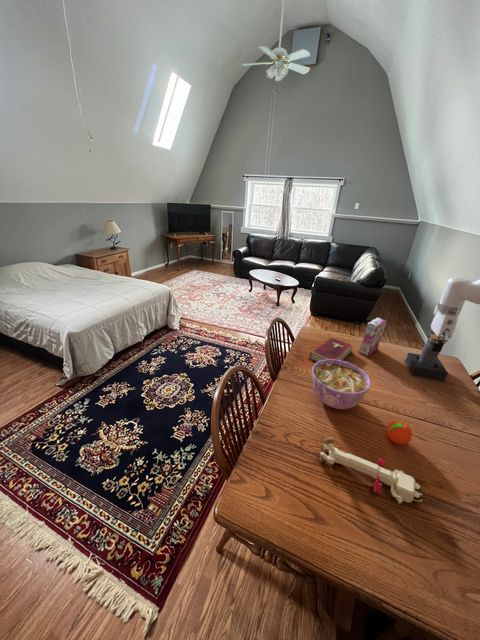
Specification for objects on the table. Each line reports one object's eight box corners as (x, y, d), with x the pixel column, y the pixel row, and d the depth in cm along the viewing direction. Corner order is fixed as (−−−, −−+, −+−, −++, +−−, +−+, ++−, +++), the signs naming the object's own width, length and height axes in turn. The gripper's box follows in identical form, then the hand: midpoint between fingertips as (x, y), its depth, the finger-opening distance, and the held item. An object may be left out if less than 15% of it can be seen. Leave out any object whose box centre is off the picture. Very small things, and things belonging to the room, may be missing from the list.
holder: (434, 365, 124) (437, 357, 122) (444, 381, 113) (448, 372, 112) (405, 360, 127) (408, 352, 125) (412, 375, 116) (415, 366, 115)
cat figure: (316, 470, 75) (421, 519, 63) (318, 448, 72) (430, 494, 60) (325, 445, 83) (421, 484, 71) (328, 424, 80) (429, 460, 67)
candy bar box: (368, 357, 128) (377, 326, 121) (358, 352, 132) (366, 322, 125) (378, 349, 135) (387, 320, 128) (368, 345, 139) (376, 316, 132)
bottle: (434, 370, 117) (448, 341, 110) (420, 368, 117) (432, 339, 110) (428, 362, 122) (441, 334, 115) (415, 360, 123) (426, 332, 116)
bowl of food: (322, 423, 89) (329, 397, 85) (298, 385, 107) (302, 361, 102) (374, 416, 94) (384, 390, 89) (343, 380, 111) (349, 357, 106)
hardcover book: (309, 358, 125) (310, 351, 123) (329, 343, 139) (330, 336, 137) (333, 369, 118) (335, 361, 116) (352, 352, 132) (354, 344, 130)
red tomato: (390, 451, 81) (397, 434, 78) (376, 433, 87) (381, 416, 84) (413, 448, 82) (421, 431, 79) (397, 430, 88) (403, 414, 85)
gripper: (469, 318, 99) (451, 359, 107) (451, 302, 114) (436, 339, 122) (446, 315, 101) (429, 356, 108) (431, 300, 116) (417, 336, 123)
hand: (433, 347), depth 115 cm, fingers closed on bottle, 5 cm apart
